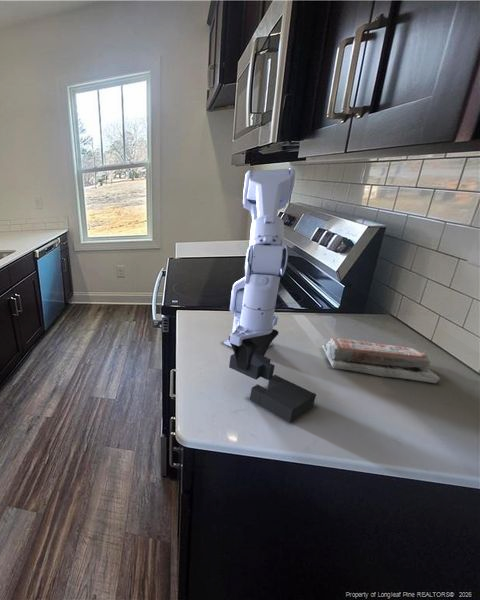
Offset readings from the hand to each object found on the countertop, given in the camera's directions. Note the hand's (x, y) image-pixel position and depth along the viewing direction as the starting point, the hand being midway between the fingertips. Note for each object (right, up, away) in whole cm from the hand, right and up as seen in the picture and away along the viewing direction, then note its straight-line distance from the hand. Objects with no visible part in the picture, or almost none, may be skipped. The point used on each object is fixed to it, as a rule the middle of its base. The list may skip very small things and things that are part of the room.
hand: (249, 363), depth 68 cm
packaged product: (+32, -2, +6) cm, 33 cm away
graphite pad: (0, -1, 0) cm, 1 cm away
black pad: (+4, -7, -4) cm, 9 cm away
